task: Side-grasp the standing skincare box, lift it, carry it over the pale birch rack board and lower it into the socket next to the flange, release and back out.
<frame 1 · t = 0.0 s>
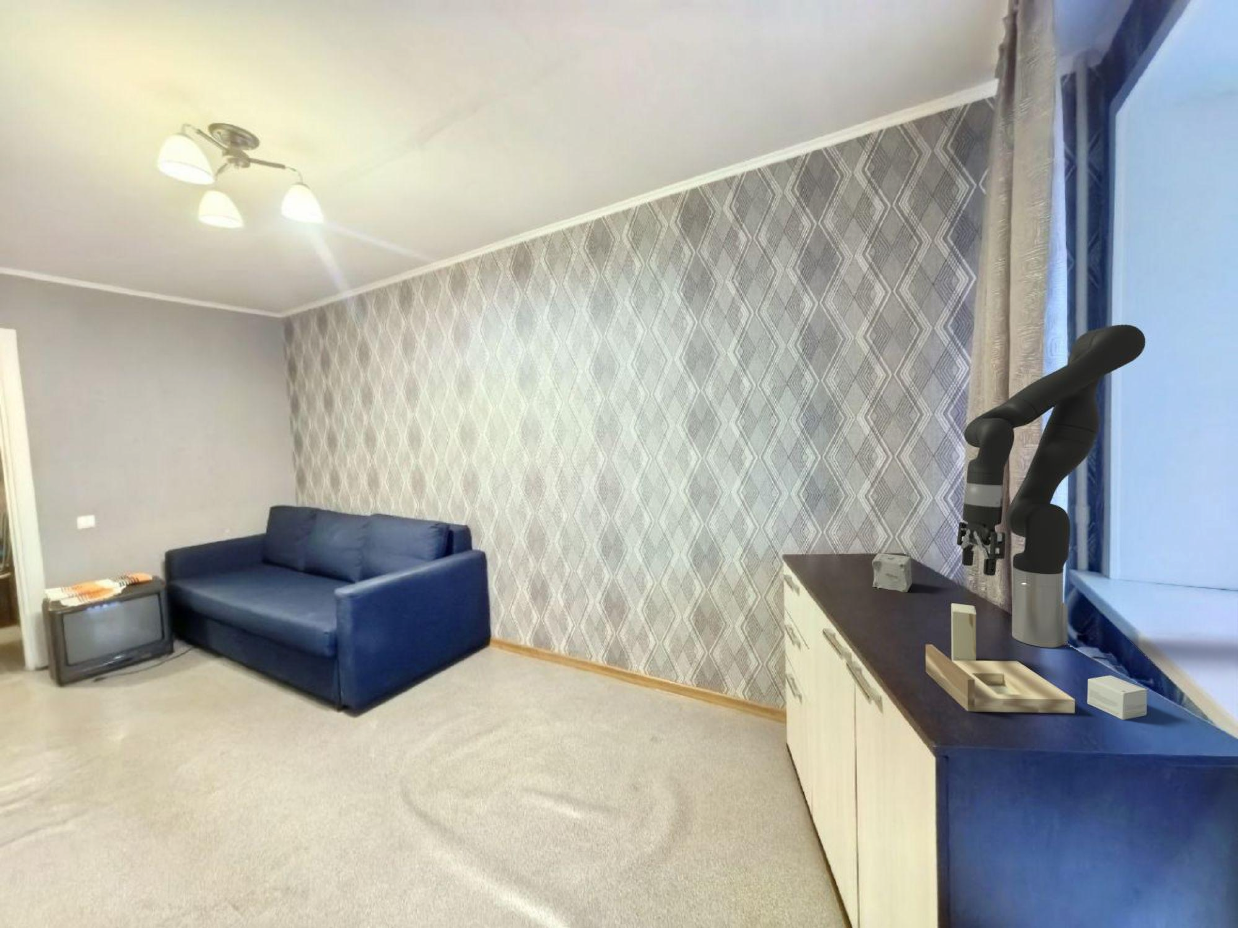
hand: (977, 569, 119), 17 cm above the table, tool pointing down, fingers open, 8 cm apart
rack: (993, 690, 98), on the table
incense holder: (892, 588, 160), on the table
small box: (1116, 710, 90), on the table
skincare box: (963, 663, 109), on the table
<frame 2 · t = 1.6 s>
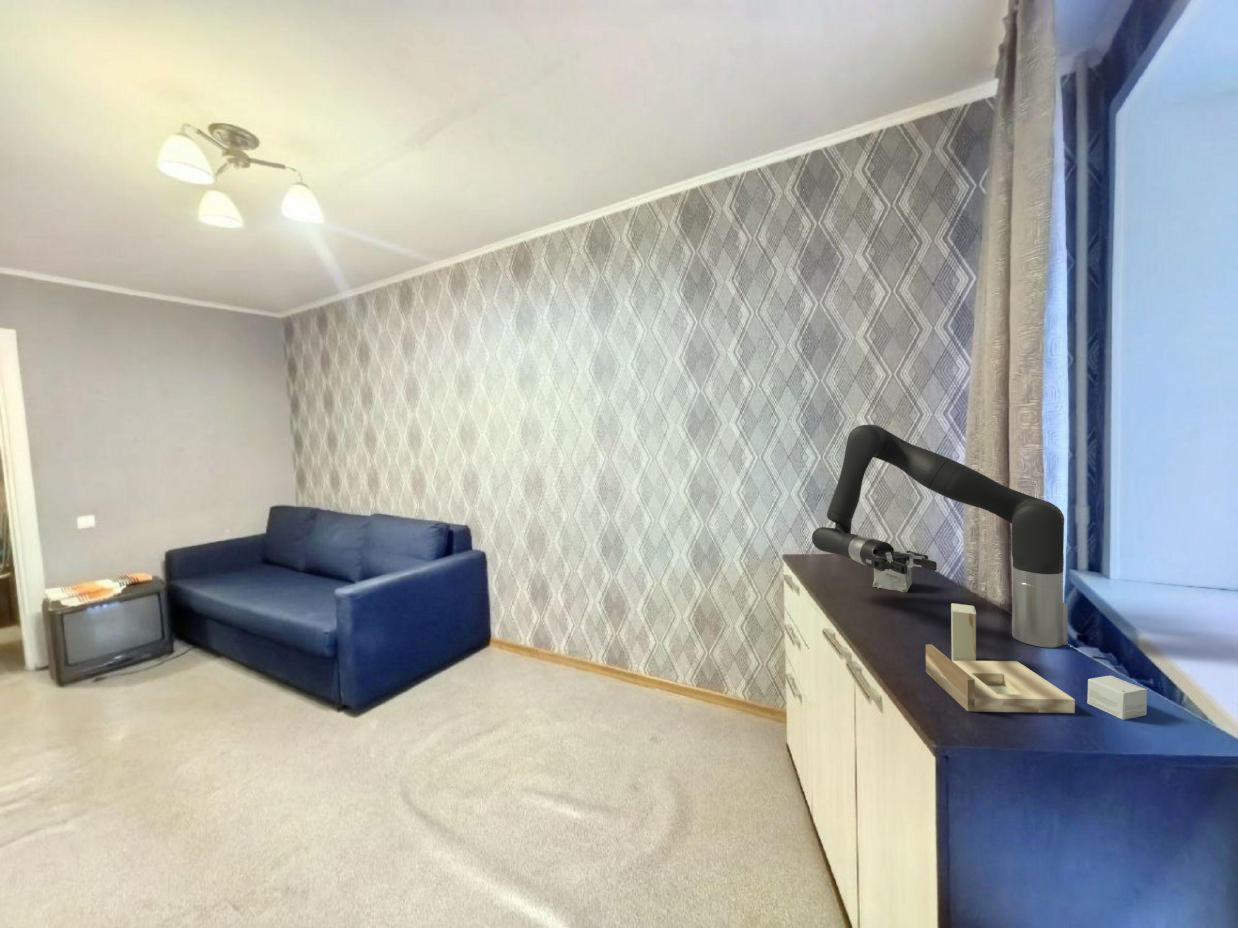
hand: (921, 568, 119), 18 cm above the table, tool horizontal, fingers open, 8 cm apart
nothing on the table moved.
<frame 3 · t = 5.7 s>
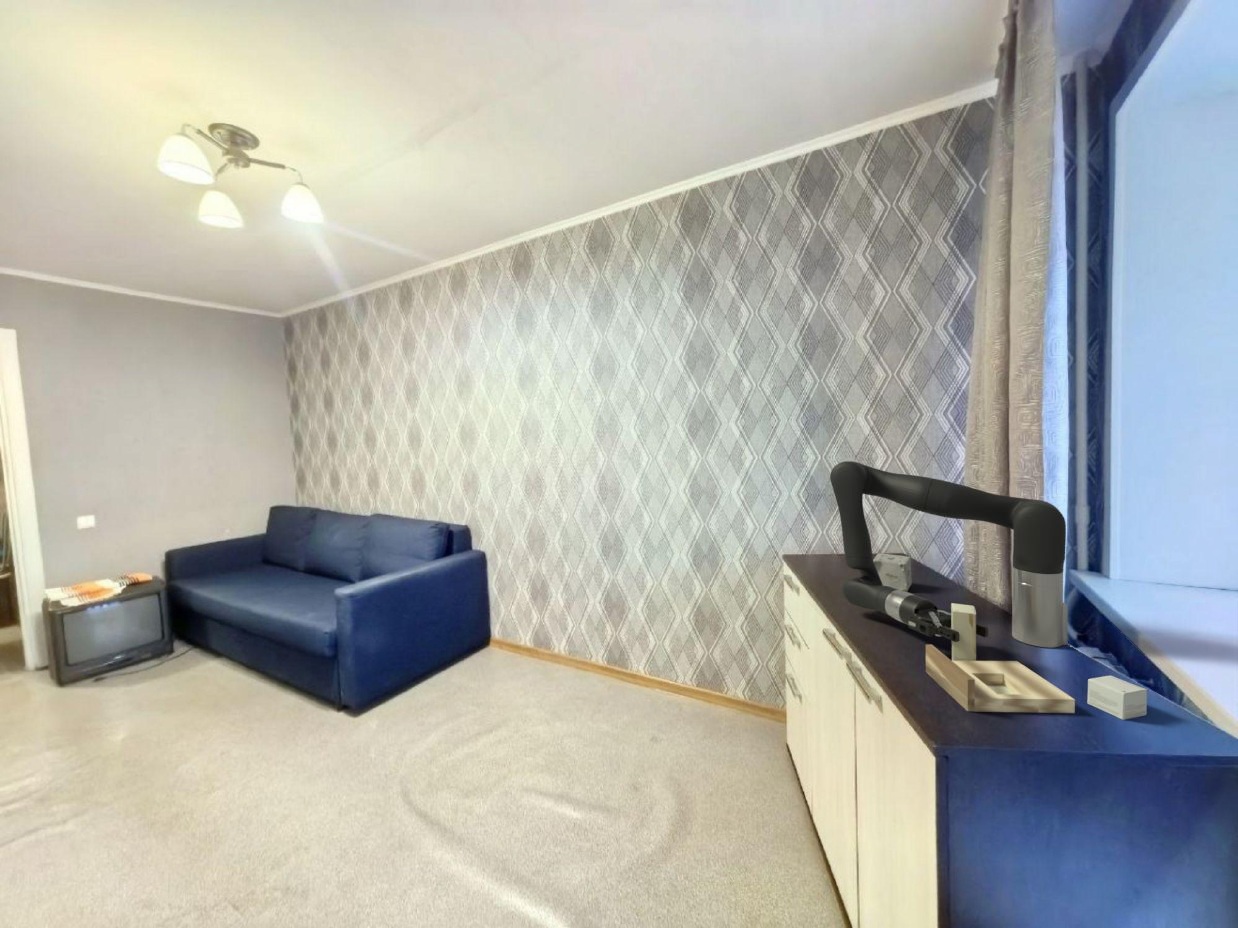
hand: (972, 634, 107), 7 cm above the table, tool horizontal, fingers closed on skincare box, 7 cm apart
skincare box: (963, 663, 109), on the table, touching gripper
everything else where it was.
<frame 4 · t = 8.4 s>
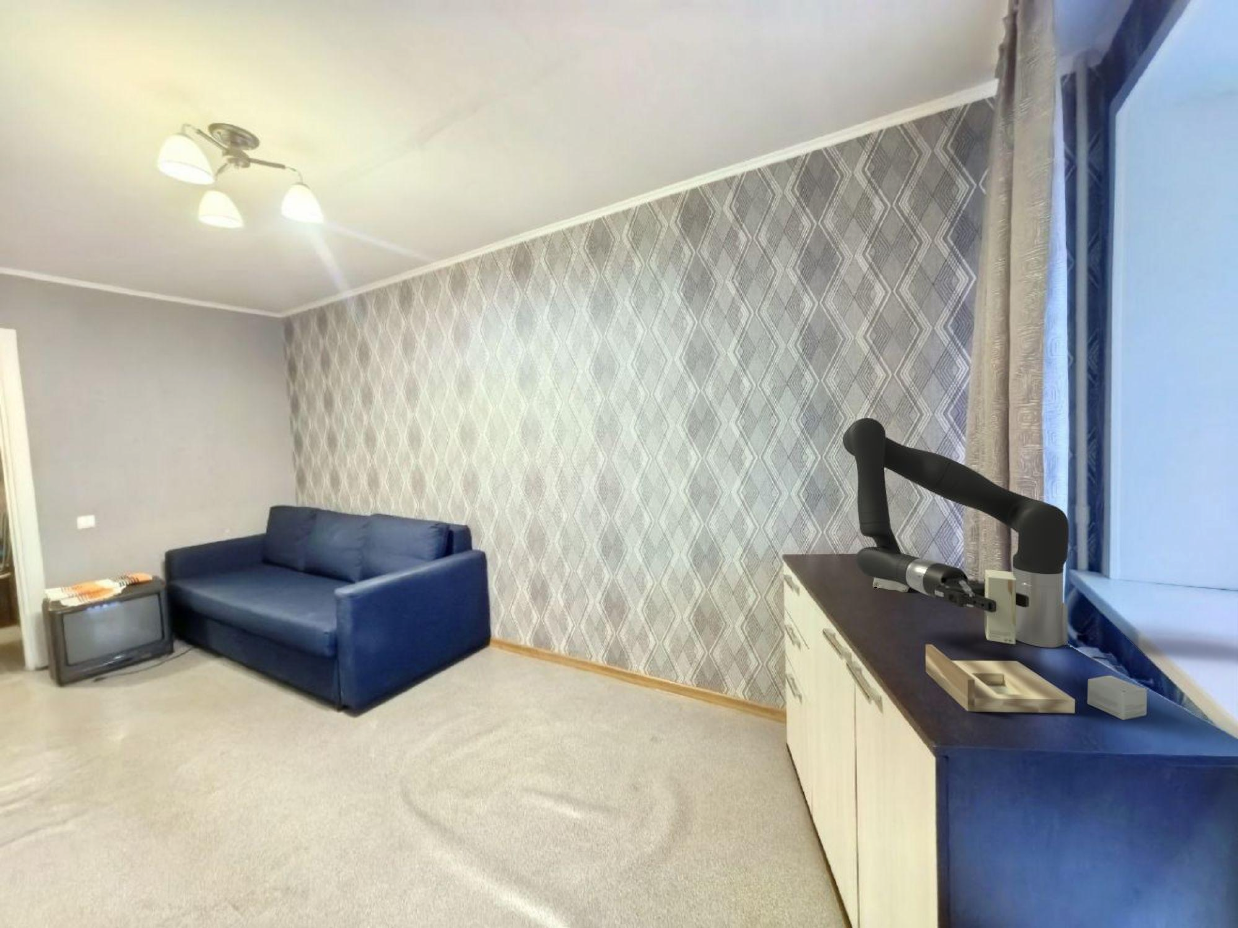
hand: (1011, 604, 93), 19 cm above the table, tool horizontal, fingers closed on skincare box, 7 cm apart
skincare box: (999, 637, 95), point 11 cm above the table, touching gripper
everything else where it was.
when the fingers open (10 cm above the table, at t = 11.5 s): skincare box stays where it is, resting on rack.
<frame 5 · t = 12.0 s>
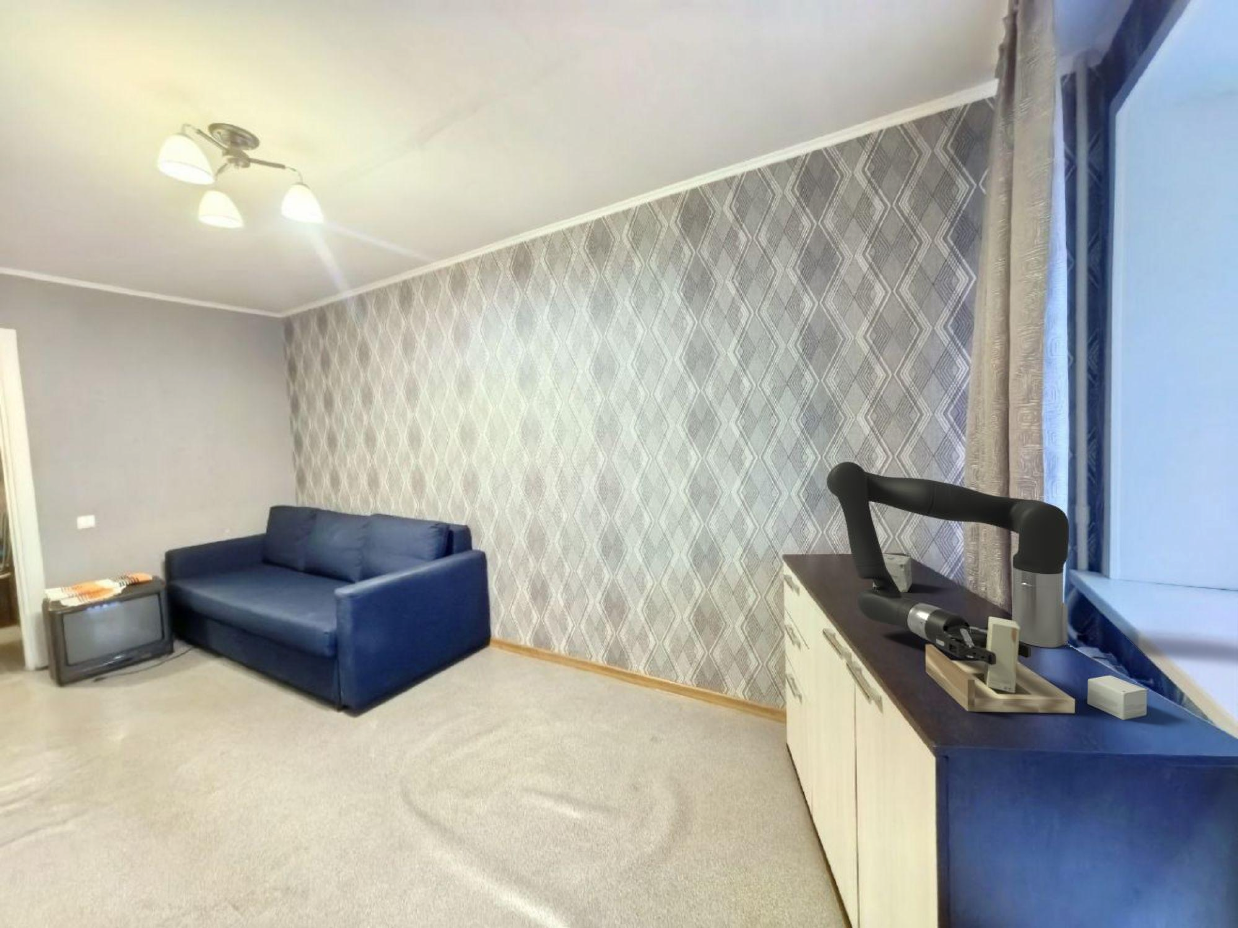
hand: (1012, 656, 93), 9 cm above the table, tool horizontal, fingers open, 8 cm apart
skincare box: (998, 685, 96), point 2 cm above the table, touching gripper, rack
everything else where it was.
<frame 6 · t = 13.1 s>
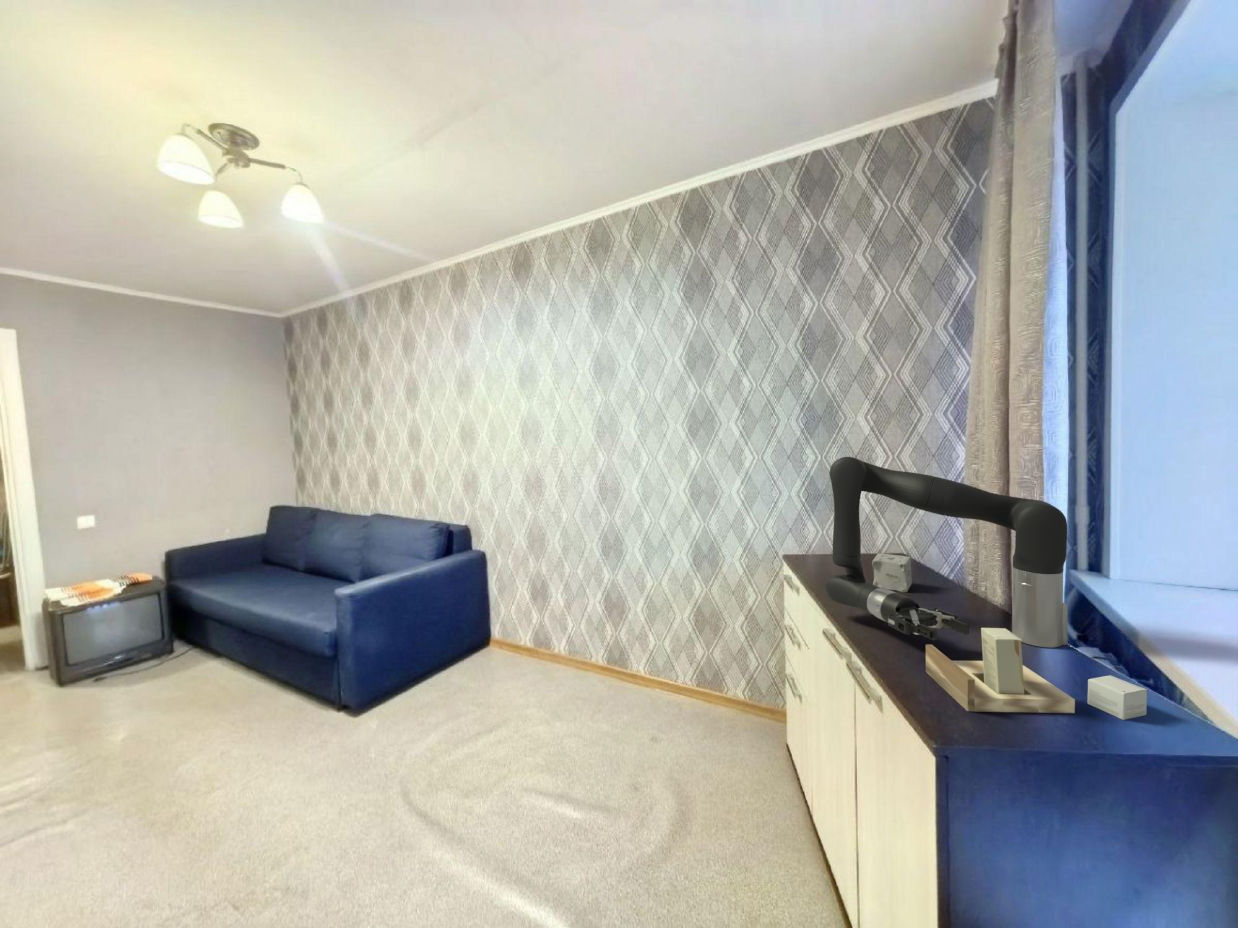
hand: (952, 632, 105), 8 cm above the table, tool horizontal, fingers open, 8 cm apart
skincare box: (1003, 696, 95), resting on rack
everything else where it was.
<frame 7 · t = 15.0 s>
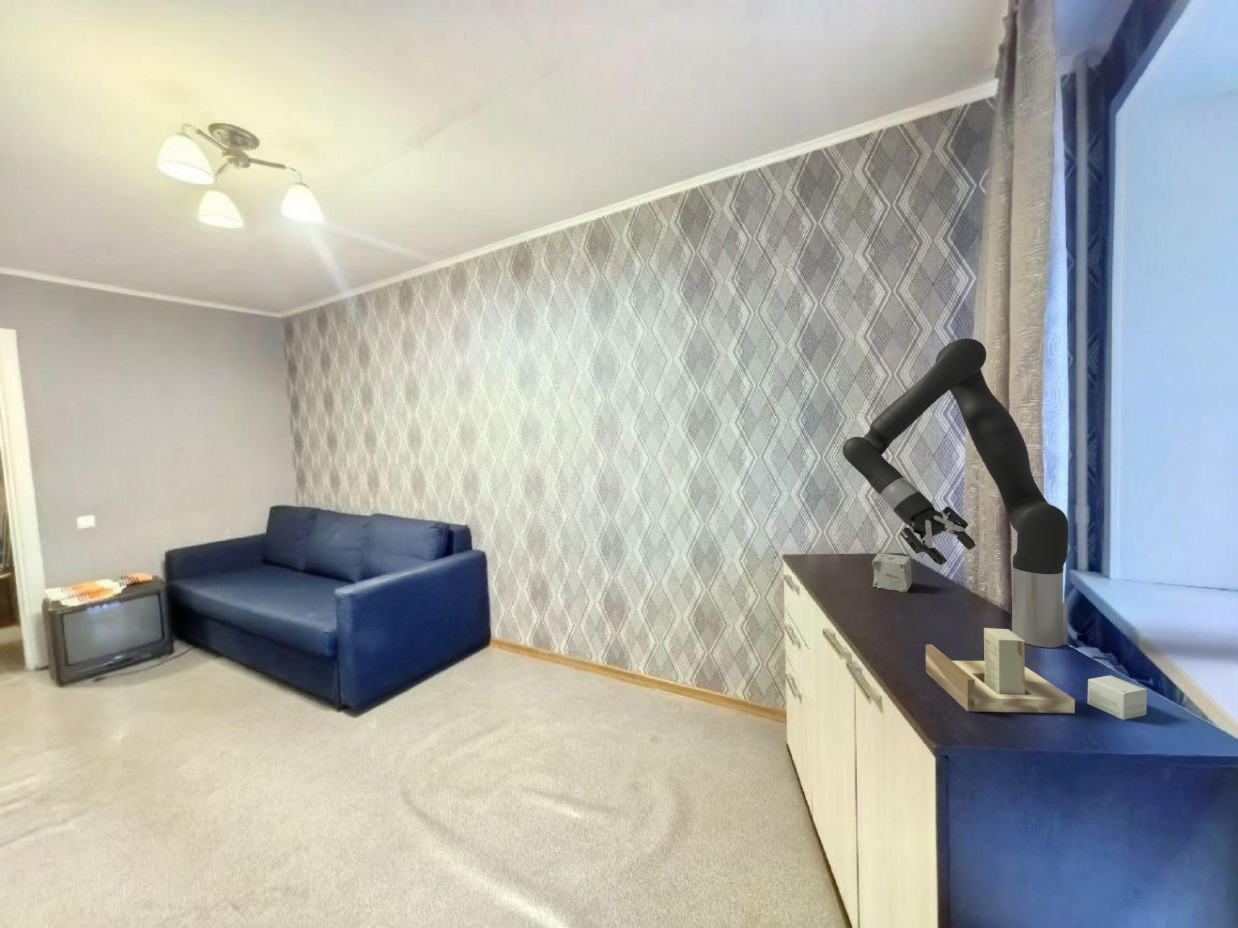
hand: (958, 555, 113), 23 cm above the table, tool tilted 45°, fingers open, 8 cm apart
nothing on the table moved.
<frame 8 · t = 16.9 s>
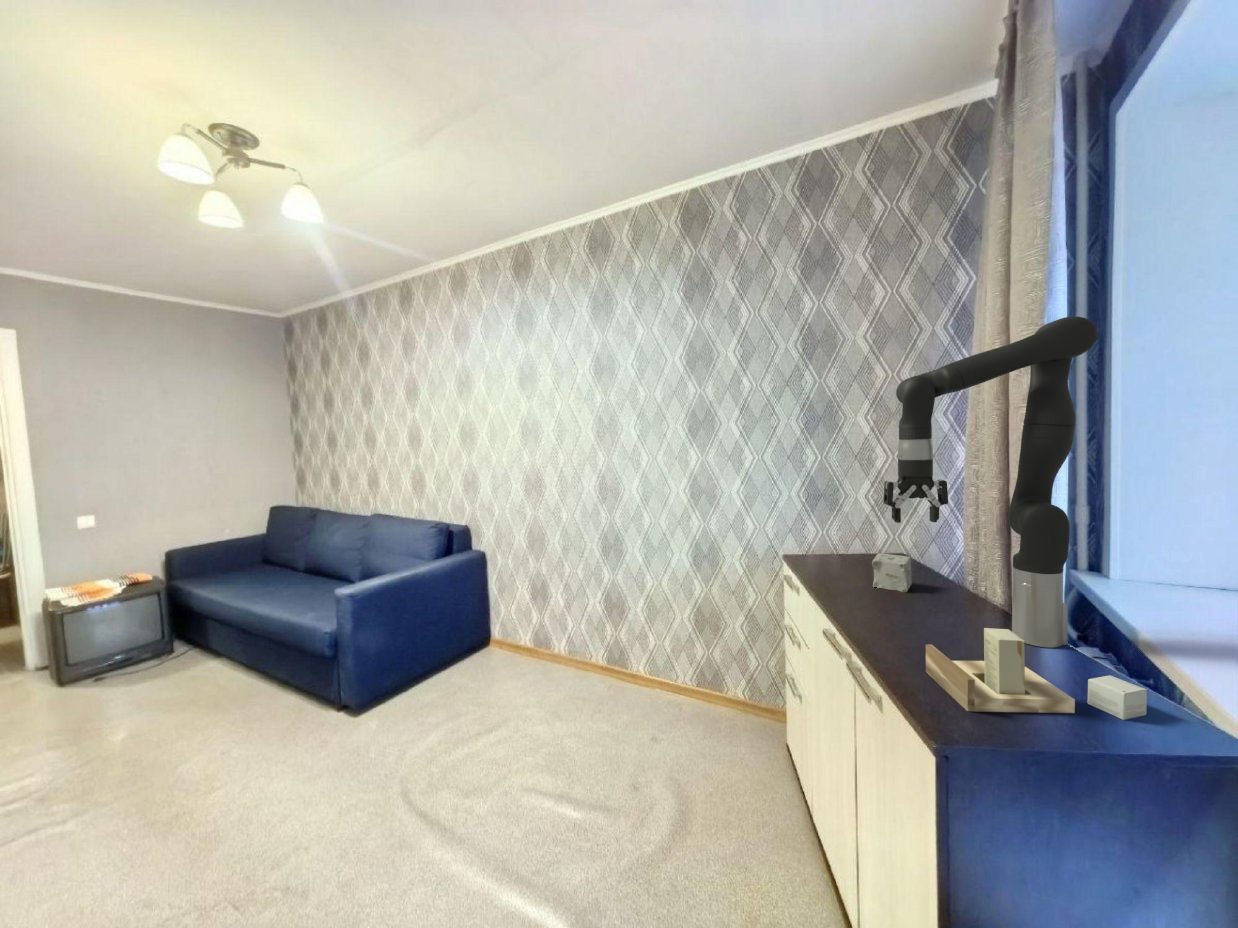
hand: (915, 522, 125), 28 cm above the table, tool pointing down, fingers open, 8 cm apart
nothing on the table moved.
at the end: skincare box 0.6 cm from the target spot on the rack, point 0.0 cm above the rack's base; skincare box tilted 0°; the gripper is holding nothing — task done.
